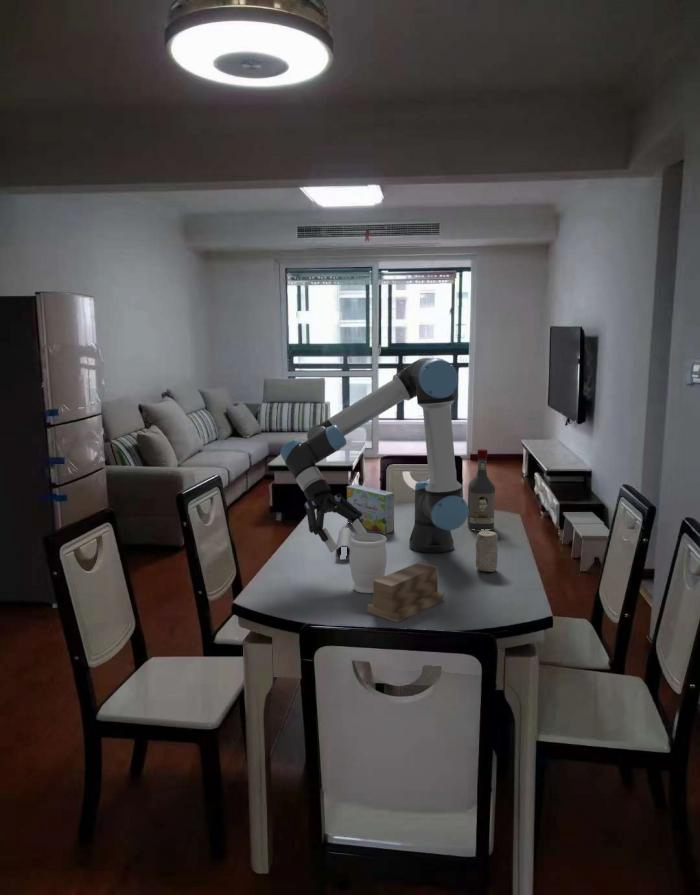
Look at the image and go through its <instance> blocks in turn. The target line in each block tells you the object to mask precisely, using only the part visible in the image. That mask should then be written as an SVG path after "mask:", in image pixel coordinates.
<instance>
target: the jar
mask: <svg viewBox="0 0 700 895" xmlns="http://www.w3.org/2000/svg"><path fill="white" fill-rule="evenodd" d="M387 541H388V538H387V536H386V535H385V534H381V533H370V532H367V533H363V534H352V536H351V537H350V543H351V547H350V555H349V559H348V561H349V568H350V573H351V577H352V580H353V582H354V584H353V586H352V588H353V590H354V591H356V592H358V593H361V594H373V581H374V580H376V579H379V578H381V577H384V576H386V575H385V574H386V568H387V560H388V558H387V557H388V556H387V555H388V554H387V547H386V543H387Z"/></svg>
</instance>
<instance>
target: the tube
mask: <svg viewBox="0 0 700 895" xmlns="http://www.w3.org/2000/svg"><path fill="white" fill-rule="evenodd" d="M351 536H353V531H352V530H351V528H350V527H342V528H341V529H340V530H339V531H338V538H337V544H336V545H337V548H336V549H335V557H336V558H337V560H339V561H341V560H340V555H341V547H347V556H346V560H345V561H349V555H350V547H351V543H350V537H351Z"/></svg>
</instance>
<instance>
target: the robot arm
mask: <svg viewBox="0 0 700 895" xmlns="http://www.w3.org/2000/svg"><path fill="white" fill-rule="evenodd" d="M458 382H459V376H458V372H457V370H456V368H455V367H454V365H453V364H452V363H451V362H449V361H448V360H445V359H442V358H438V357H433V358H429V357H426V358H425V357H423V358H419V359H416V360H415V361H413V362H412V363H410V364H409V365H408V366H407V365H406V367H405V368H403V369H401V370H400V371H398V372H397V373H396V374H394V375H393V376H392V379H391V380H390V381H388V382H386V383H385V384H383V385H381V386H380V387H378V388H377V389H375V390H373V391H371V392H370V393H368V394H367V395H365V396H363V397H362V398H361V399H358V400H357V401H355V402H354V403H352V404H351V405H349V406H347V407H345V408H344V409H341V411H339V412H337V413H336V414H334V415H333V416H331V417H330V418H327V420H324V421H322V422H321V423H320V424H314V425H312V426H311V427H310V428H309V429H308V431H307V434H306V438H307V440H306V441H303V442H302V441H301V440H300V439H297V438H296V439H293V440H289V441H287V442H286V443H285V444H284V445H283V446H282V447H281V449H280V456H281V458H282V459H283V461H284V464H285V465H286V467H287V469H288V470H289V471H290V473H291V475H292V476H293V478H294V479H295V481H296V482H297V484H298V486H299V487H300V489H301V491H302V492H303V494H304V496H305V498H306V499H307V501H306V502H305V503H304V504H303V507H304V509H305V511H306V517H307V523H308V530H309V532H310V533H311V534H312V533H313V534H314V535H315V536H317V535H318V537H319V538H320V540H321V541H322V542H323V543H324V544H325V546H326V547H327V549H328V550H329V552H330V553H333V552H334V551H336V549H337V544H336V542H335V541H334V539H333V537H332V535H331V534H330V532H329V531H328V529H327V527H324V523H325V522H324V520H325V515H326V514H327V513H334V514H335V513H336V514H338V515H340V516H342V517H343V518H344V519H348V520H350V521H351V522H353V523H352V524H351V526H352V527H353V529H354V530H355V532H356V533H357V534H363V533H368V532H367V529H366V528H364V525H363V524H362V522H361V521H360V517H361V516H362V513H361V512H360V511H359V510H357V509H356V508H355V507H354V506H353V505H351V504H350V503H349V502H348V501H347V499H346V498H345V497H344V496H343V495H342V493H341V492H338V493H337V494H336V495H333V494H332V491H331V487H330V485H329V483H328V482H327V481H326V479H325V477H324V476H323V474H322V473H321V471H320V469H319V468H318V467H317V465H316V464H317V463H320V462H321V461H323V460H325V459H326V458H328V457H329V456H331V455H333V454H334V453H336V452H339V451H340V450H341V449H342V448H344V447H345V446H346V445H347V439H346V436H347V435H349V434H350V433H352V432H353V431H355V430H357V429H359V428H360V427H362V426H363V425H365V424H367V423H369V422H370V421H371V420H373V419H374V418H376V417H378V416H380V415H382V414H383V413H384V412H386V411H388V410H390V409H391V408H393V407H395V406H396V405H398V404H400V403H401V402H403V401H410V400H412V399H414V398H416V401H417V402H416V403H417V405H418V406H419V407H421V408H422V413H423V425H424V436H425V447H426V449H425V450H426V456H427V457H426V458H427V469H428V479H429V480H422V481H421V480H420V481H418V482H416V483H415V487H414V525H413V527H412V531H411V534H410V536H409V541H408V543H409V545H408V546H409V548H410V549H411V550H413V551H416V552H420V553H426V554H428V553H429V554H430V553H431V554H436V553H437V554H438V553H447V552H450V551H452V550H453V549H454V544H455V543H454V539H453V535H452V531H454V530H455V531H456V530H457V529H459V528H460V527H462V526H463V525H464V523H465V522H467V520H468V512H469V510H468V502H467V501H466V500H465V499H464V495H463V485H462V483H460V482H459V481H458V480H457V470H456V460H455V457H456V456H455V446H454V435H453V433H454V432H453V423H452V422H453V421H452V410H451V406H452V405H453V403H454V402H455V401H456V400H455V398H456V397H455V391H456V388H457V387H458V384H459V383H458ZM357 514H358V515H357ZM348 520H347V521H348Z"/></svg>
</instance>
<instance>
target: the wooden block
mask: <svg viewBox="0 0 700 895" xmlns="http://www.w3.org/2000/svg"><path fill="white" fill-rule="evenodd" d="M438 571H439V566H436V565H432V564H429V563H426V562H421V561H419V562H417V563H414V564H411V565H409V566H407V567H404V568H402V569H399V570H397V571H394V572H392V573H389V574H387V575H384V577H381V578H379V579H376V580H374V581H373V593H372V594H373V595H372V596H373V598H372V600H373V601H372V602H370V603H367V613H369V614H372V615H375V616H377V617H380V618H383V619H387V620H389V621H392V622H395V623H400V622H402V621H404V620H406V619H408V618H410V617H412V616H414V615H416V614H419V613H421V612H422V611H424V610H427V609H429V608H431V607H433V606H434V605H437V604H439V603H441V602H442V601H444V595H445V594H444V592H442V591H439V590H438V587H439V586H438V584H439V583H438V582H439V581H438V580H439V579H438V578H439V572H438Z"/></svg>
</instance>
